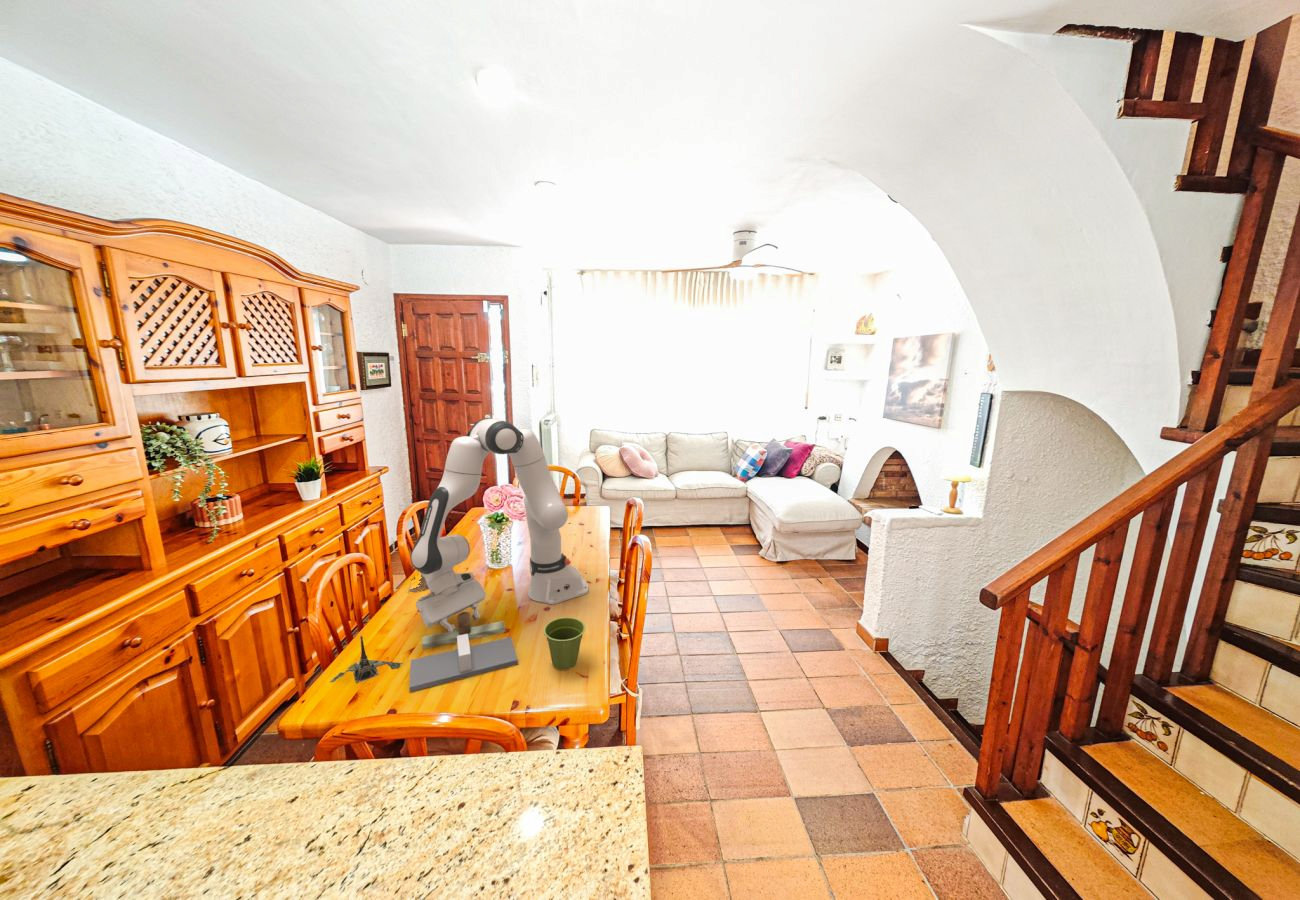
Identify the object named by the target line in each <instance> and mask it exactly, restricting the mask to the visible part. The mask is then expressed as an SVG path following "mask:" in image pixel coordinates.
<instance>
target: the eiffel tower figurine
mask: <svg viewBox="0 0 1300 900" xmlns="http://www.w3.org/2000/svg"><path fill="white" fill-rule="evenodd" d="M363 638H364V637H363V635H360V638H359V640H360V651H361V652H360V655H361V656H360V661H357V662H355V663H353V664H351V665H350V666H349V667H348V668H347V669H346V671H345V672H339V673H338V674H337V675H336V676H335V677H333V678H332V679H331V680H330V681H329V682H331V683H335V682H336V681H337V679H340V678H341V677H343V676H345V675H346V673H348V672H352V673H353V677H354V680H355V683H356V684H359V683H362V682H363V681H367V680H369V679H372V678H374V677H377V676H379V671H378V669H377V668H378V667H382V666H384V665H387V666H389V667H390V669H391V670H396V669H400V667H402V665H403V664H404V663H403V662H396V661H395V662H393V661H391V662H390V661H383V660H373V659H368V655H367V653H366V649H365V645H364V644H365V643H364V640H363Z"/></svg>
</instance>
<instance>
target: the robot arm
mask: <svg viewBox="0 0 1300 900" xmlns="http://www.w3.org/2000/svg"><path fill="white" fill-rule="evenodd" d="M540 443H541V442H540V441H539V440H538V438H537V436H536V434H535V432H534V431H533V430H531V429H529V428H519V429H518V428H517V427H516V426H515V425H514V424H512V423H510V422H509V421H505V420H503V419H499V418H491V417H484V418H481V419H478V420H477V421H476V422H475V423H474V424H473V425H472V427H470V429H469V431H468V432H467V433H466V435H465V436H464V435H462V436H458V437H455V439H454V440H452V441H451V445H450V447H449V449H448V453H447V456H446V460H445V464H444V470H443V474H442V478H441V480H440V482H439V484H438V486H437V488H436V489H435V490H434V491H433V492H432V494H431V496H430V498H429V500H428V505H427V507H426V510H425V515H424V516H423V520H422V524H421V527H420V530H419V534H418V537H417V539H416V541H415V543H414V544H413V547H412V550H411V553H410V563H411V565H412V566H413V568H414V569H415V570H416V571H417V572H418V573H419V574H420V573H421V575H422V576H423V577H424V578H425V579H426V583H427V586H428V588H429V589H428V590H429V592H430V593H428V594H426V595H424V596H421V597H419V598H418V600H417V601H416V603H415V606H416V609H417V610H418V611H419V613H420V616H421V619H422V622H423V624H424V625H425V627H428V628H430V627H433V626H435V625H437V624H439V623H440V625H441V626H442V627H443V628H445V629H447V632H449V633H451V632H453V631H455V630H457V628H456V627H455V624H454V623H453V624H450V623H449V622H448V618H451V617H453V616H455V615H457V614H460V613H462V612H464V611H465V610H467V609H469V608H471V610H473V614H472V615H471V617H472V618H473V620H474V621H477V620H479V618H480V617H481V615H480V613H479V603H481V602H483V601H484V600H485V599H486V597H487V593H486V591H485V589H484V587H483V586H482V584H481V583H480V581H478V580H477V579H474V578H475V575H474V573H473V572H461V573H460V572H459V573H457V572H456V571H455V570H454V567H455V566H457V565H459V564H462V563H463V562H465V561H466V560H467V559H468V557H469V555H470V551H471V547H470V543H469V542H468V539H467V538H466V537H465V536H463V535H462V534H451V535H445V536H442V532H443V528H444V525H445V523H446V522H445V521H446V519H447V516H448V515H449V513H450V511H452V509H453V508H454V507H456V506H457V505H459V504H460V503H462V502H464V501H466V500H467V499H470V498H471V497H472V496H474V495H475V494H476V492H477V491H478V489H479V487H480V483H481V479H482V471H483V464H484V462H485V459H486V457H487V456H488V455H489V454H490V453H493V454H497V455H509V457H510V459H511V460H510V461H511V464H512V465H513V469H514V472H515V474H516V477H517V480H518V482H519V485H520V488H521V489H522V491H523V493H524V498H523V503H524V504H523V505H524V509H525V513H526V514H525V515H526V522H527V526H528V528H527V529H528V533H529V538H530V558H529V572H530V581H529V587H528V590H527V597H528V598H529V599H531V600H533V601H535V602H539V603H545V604H549V605H556V604H558V603H559V604H560V603H561V602H565V601H569V600H571V599H573V598H577V597H580V596H583V595H586V594H588V593H589V585H588V583H587V581H586V580H585V579H584V578H583V577H582V574H581V573H580V571H579V570H578V569H577V567H575V566H573V565H571V560H570V559H569V558H568V557H567V555H565V554H564V553H563V552H562V536H561V535H562V534H561V532H560V529H561V528H563V526H564V525H566V523H567V521H568V520H569V519H568V518H569V512H568V510H567V507H566V505H565V504H564V501H563V498H562V495H561V493H560V492H559V489H558V487H557V485H556V484H555V481H554V478H553V477H552V474H551V471H550V469H549V465H548V463H547V460H546V457H545V453H544V451H543V448H542V446H541V444H540Z"/></svg>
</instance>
